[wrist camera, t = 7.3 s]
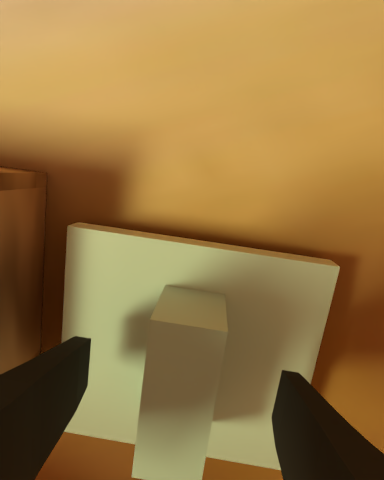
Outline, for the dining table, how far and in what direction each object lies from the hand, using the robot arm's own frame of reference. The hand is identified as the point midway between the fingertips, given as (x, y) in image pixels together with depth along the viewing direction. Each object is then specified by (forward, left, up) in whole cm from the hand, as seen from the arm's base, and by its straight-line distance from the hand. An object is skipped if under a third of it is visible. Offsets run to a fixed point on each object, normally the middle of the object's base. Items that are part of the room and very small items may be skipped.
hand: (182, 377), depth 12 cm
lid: (0, 0, -2) cm, 3 cm away
